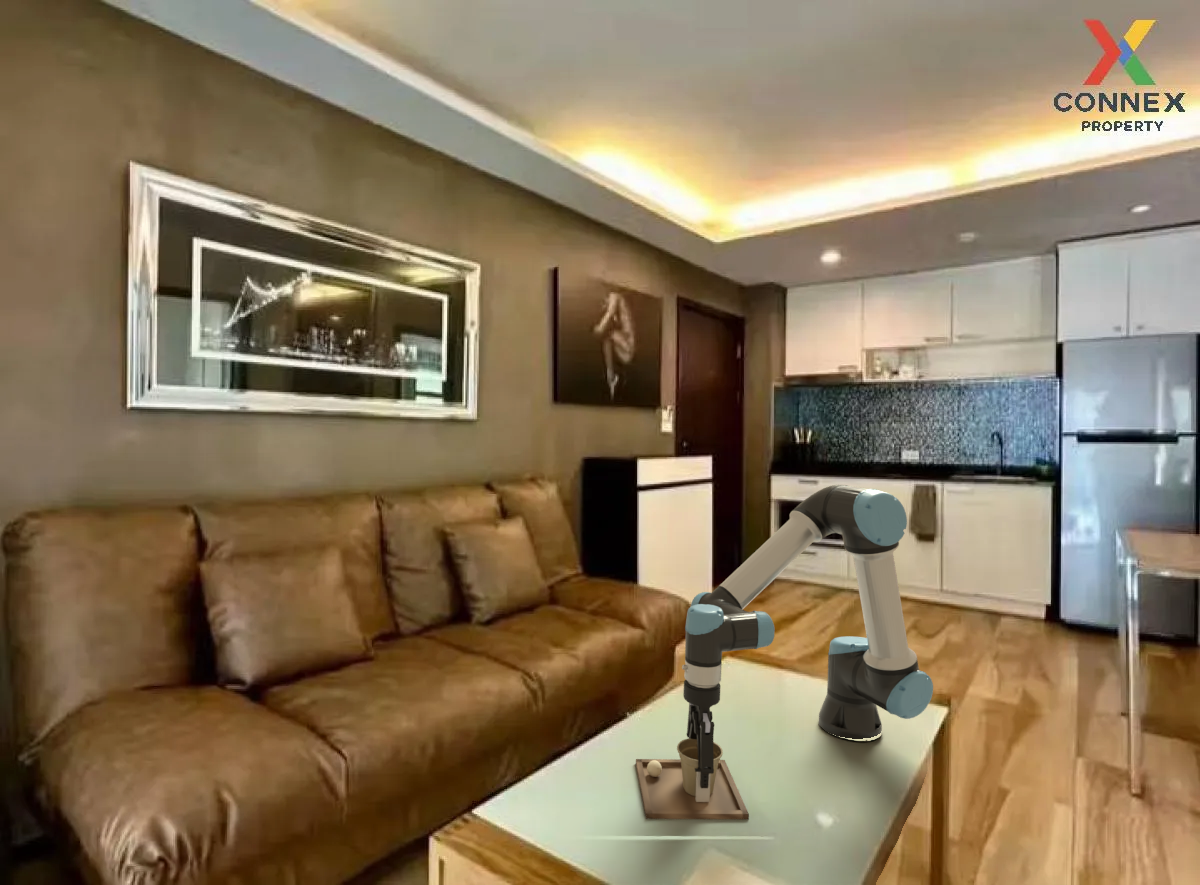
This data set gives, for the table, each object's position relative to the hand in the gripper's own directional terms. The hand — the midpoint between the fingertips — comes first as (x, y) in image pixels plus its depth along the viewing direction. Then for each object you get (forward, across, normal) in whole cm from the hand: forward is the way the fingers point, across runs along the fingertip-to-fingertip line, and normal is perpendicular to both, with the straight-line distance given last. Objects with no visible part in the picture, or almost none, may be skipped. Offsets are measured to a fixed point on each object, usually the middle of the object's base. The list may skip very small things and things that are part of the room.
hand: (698, 787), depth 136 cm
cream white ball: (0, -5, -9) cm, 10 cm away
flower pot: (+1, 0, 0) cm, 1 cm away
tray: (+1, 0, -2) cm, 2 cm away
